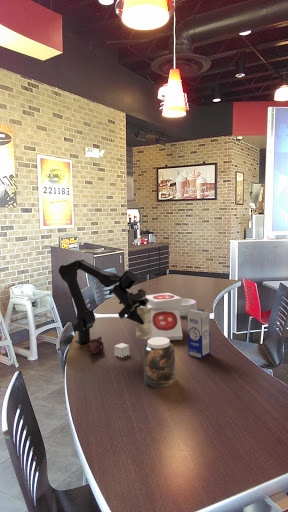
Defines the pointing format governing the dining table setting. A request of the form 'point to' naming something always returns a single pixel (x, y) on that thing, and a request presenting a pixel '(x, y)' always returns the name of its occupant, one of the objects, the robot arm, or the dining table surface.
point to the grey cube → (121, 350)
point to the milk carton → (198, 333)
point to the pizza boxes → (165, 316)
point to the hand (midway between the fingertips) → (146, 322)
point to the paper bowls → (186, 306)
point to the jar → (159, 362)
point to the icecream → (96, 346)
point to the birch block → (145, 329)
